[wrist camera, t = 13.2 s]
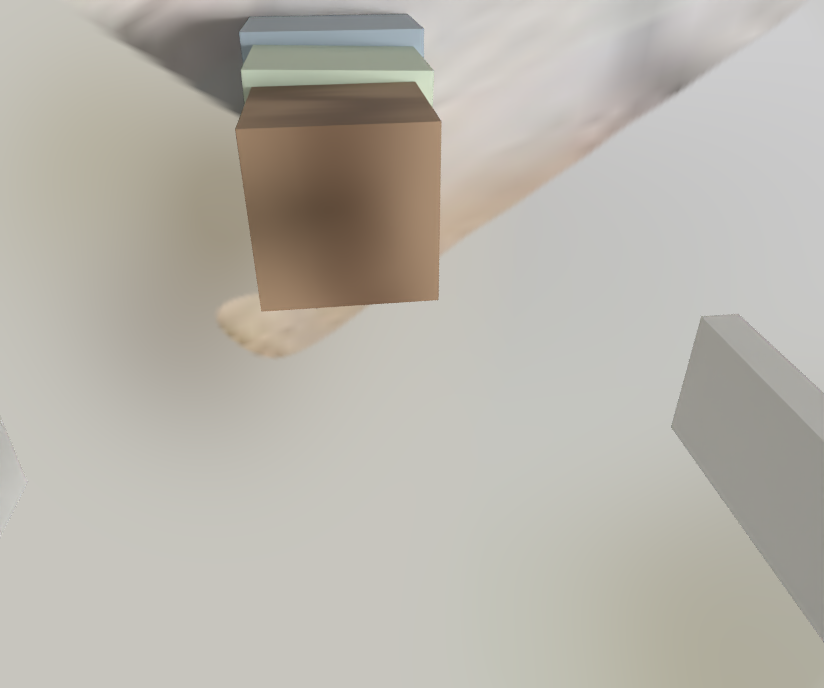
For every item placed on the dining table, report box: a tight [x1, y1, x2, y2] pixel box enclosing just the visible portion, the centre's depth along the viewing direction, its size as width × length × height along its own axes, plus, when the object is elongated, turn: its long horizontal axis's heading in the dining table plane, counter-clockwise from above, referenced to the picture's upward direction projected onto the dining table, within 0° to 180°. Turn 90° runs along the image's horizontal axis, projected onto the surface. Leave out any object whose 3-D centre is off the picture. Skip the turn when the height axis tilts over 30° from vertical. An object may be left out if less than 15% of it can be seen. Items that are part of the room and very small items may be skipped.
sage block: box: [241, 45, 434, 108], centre depth 29 cm, size 7×7×6 cm
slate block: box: [239, 14, 424, 64], centre depth 34 cm, size 8×8×6 cm
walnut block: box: [235, 82, 441, 311], centre depth 24 cm, size 6×6×6 cm
